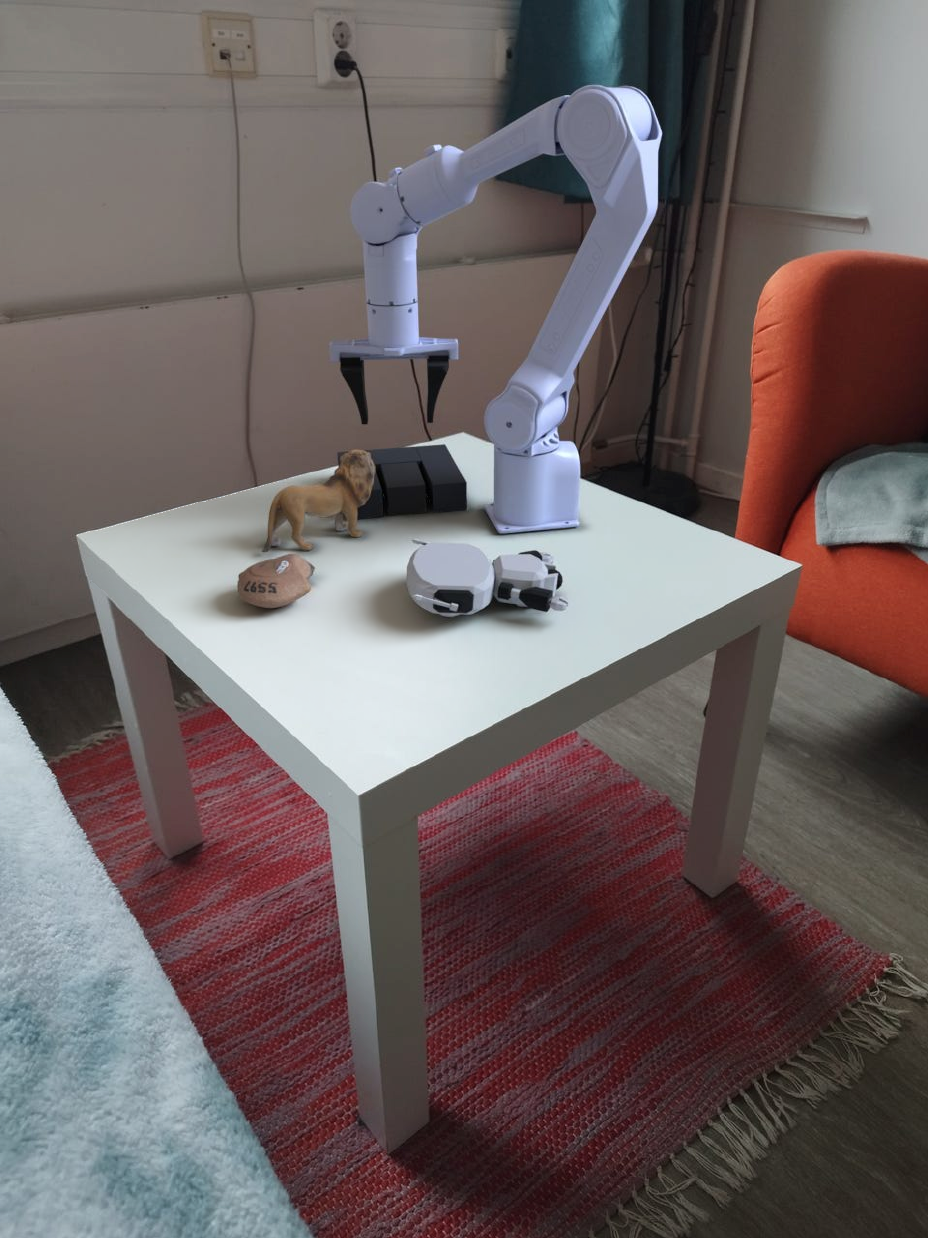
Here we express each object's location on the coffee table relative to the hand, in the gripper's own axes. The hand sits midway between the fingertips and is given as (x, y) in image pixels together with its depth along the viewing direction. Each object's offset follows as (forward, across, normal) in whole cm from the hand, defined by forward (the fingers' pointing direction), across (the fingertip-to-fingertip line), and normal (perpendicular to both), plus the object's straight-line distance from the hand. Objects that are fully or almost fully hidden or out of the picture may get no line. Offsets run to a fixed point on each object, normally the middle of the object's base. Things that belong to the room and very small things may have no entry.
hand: (397, 421), depth 107 cm
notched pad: (+9, 0, +1) cm, 9 cm away
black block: (+9, 0, -2) cm, 10 cm away
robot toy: (+10, +8, -28) cm, 31 cm away
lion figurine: (+10, -8, -12) cm, 17 cm away
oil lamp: (+10, -11, -26) cm, 29 cm away
